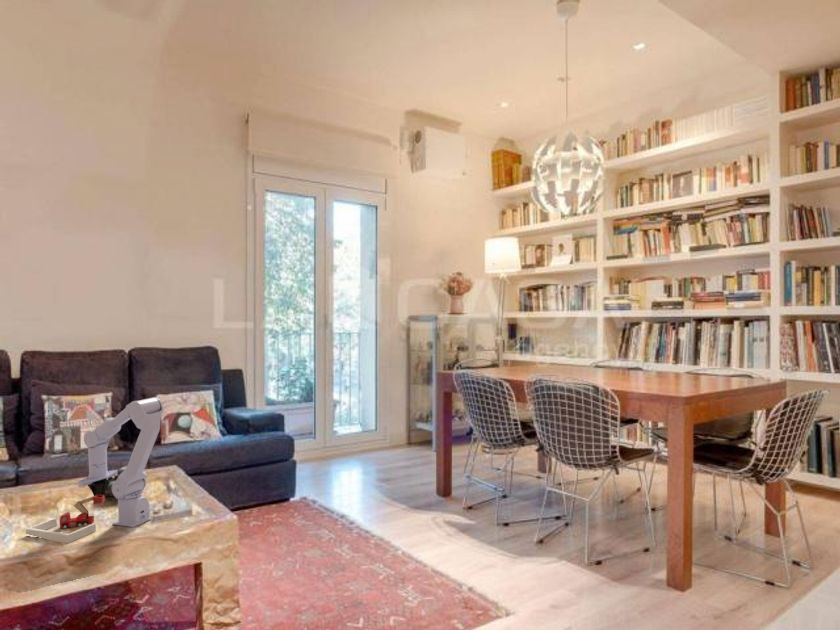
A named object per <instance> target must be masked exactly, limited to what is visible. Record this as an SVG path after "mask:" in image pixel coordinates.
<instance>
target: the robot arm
mask: <svg viewBox="0 0 840 630" xmlns="http://www.w3.org/2000/svg"><path fill="white" fill-rule="evenodd" d="M164 410H165V408H164V406H163V403H162V400H161V399H160V398H159V397H157V396H152V397H150V398H145V399H141V400H140V399H139V400H133V401H131V402H130V403H128V404H126V405H125V408H124V409H123V410H121V411H120V412H119V413H118V414H117V415H116V416H115V417H107V418H104V419H103V422H102V423H101V424H99V425H96V426H95V428H94V429H93V430H87V431H86V432H85V433H84V435H83V442H84V445H85V446H86V447H87V452H88V453H87V456H88V476H87V477H85V478H83V479H81V480H79V481H77V482H78V483H77V484H78V488H85V487H86V486H87V487H88V488H89V489H90V491H91V493H92V495H93V496H95V495H96V494H97V495H105V491H106V489H107V486H108V485H109V483H110V480H108V478H110V477H112V478H114V476H117V475H118V470H119V469H112V470H108V454H107V453H108V452H107V451H108V450H107V449H108V448H109V443H110V441H111V438H112V437H114V436H115V435H117V433H118V432H120V431H121V429H122V426H123V425H124V424H125V423H127V422H128V421H130V420H131V421H132V422H133V424H134V425H135V427H136V428H137V429H139V430H140V432H139V435H138V437H137V440H136V442H135V445H134V447H133V450H132V452H131V456H130V459H129V460H128V463H127V465H126V466H127V468H126V470H124V471H123V472H122V473H121V474H120V475H119V476H118V478H117V480H116V481H115V482H114V483H113V484H112V493H113V495H114V496H113V497H114V498H115V499H116V500H117V510H118V513H117V514H118V520H115V521H114V522H112V525H115V526H121V527H122V526H124V527H129V528H135V527H136V526H140V525H141V524H143V523H145V522H148V521H150V520H152V517H150V504H149V499H147V498H146V497H144V496H143V495H142V494H143V493H144V492H143V491H144V490H145V489H146V486H147V477H148V474H147V472H146V471H145V469H146V465H147V463H148V460H149V457H150V456H151V453H152V452H153V451H152V450H153V448H154V445H155V443H156V440H157V438H158V435H159V433H160V431H161V420H162V419H161V417H162V415H163V413H164Z"/></svg>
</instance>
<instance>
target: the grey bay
mask: <svg viewBox="0 0 840 630" xmlns="http://www.w3.org/2000/svg"><path fill="white" fill-rule="evenodd" d="M57 523H58V522H57V517H54V518H51V519H48V520H45V521H43V522H40V523H37V524H34V525H33V526H30V527H28V528H25V535H26V534H29V535H33V536H37V537H41V538H44V539H43V540H45V539H47V540H46V541H54V542H58V543H66V544H70V543H72V542H74V541H77V540H79V539H82V538H84V537H86V536H87V535H91V534H92V533H96V527H97V526H96V525H97V524H96V523H92V524H90V525H89V524H88V525H87V526H83V527H81V528H79V529H76V530H73V531H72V532H70V533H66V532H59V531H52V530H49V529H51V528H54V527H56V526H57V525H58V524H57Z"/></svg>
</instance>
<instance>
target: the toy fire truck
mask: <svg viewBox="0 0 840 630" xmlns="http://www.w3.org/2000/svg"><path fill="white" fill-rule="evenodd" d="M105 497H106V496H104V495H97V494H96V495H95V496H94V495H93V496H91V497H88V498H84V499H82V500H77V501H76V503H75V504H73V507H74V508H75V509H76V510H78V511H79V512H80V513H79V514H78V516H76V517H73V518H72V517H71V512H69V511H67V512H65V513H63V514H61V516H60V517H59V528H60V529H64V530H65V529H68V528H70V527H71V528H72V527H79V528H80V527H81V528H82V526H83V527H86V526H88V525H91V524H94V522H95V516H94V515H89V514H90V513H89V512H90V511H89V510H88V509H87V508H86V507H85V505H84V504H86V503H88V502H92V503H93V505H97V504H103V503H104V502H105V500H106V498H105Z"/></svg>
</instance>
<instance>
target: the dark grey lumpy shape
mask: <svg viewBox="0 0 840 630" xmlns="http://www.w3.org/2000/svg"><path fill="white" fill-rule="evenodd" d="M126 468H127V465H125V466H122V467H120V468H119V469H117V470H118V475H117V476H113V477H110V478H107V480H110V483H109V485H108V486H107V489H106V491H105V495H104V496H105V497H115V496H114V495H113V493H112V484H113V483H114V482H115V481H116V480H117V478H118V476H119V475H120V474H121V473H122V472H123V471H124V470H126Z"/></svg>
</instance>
